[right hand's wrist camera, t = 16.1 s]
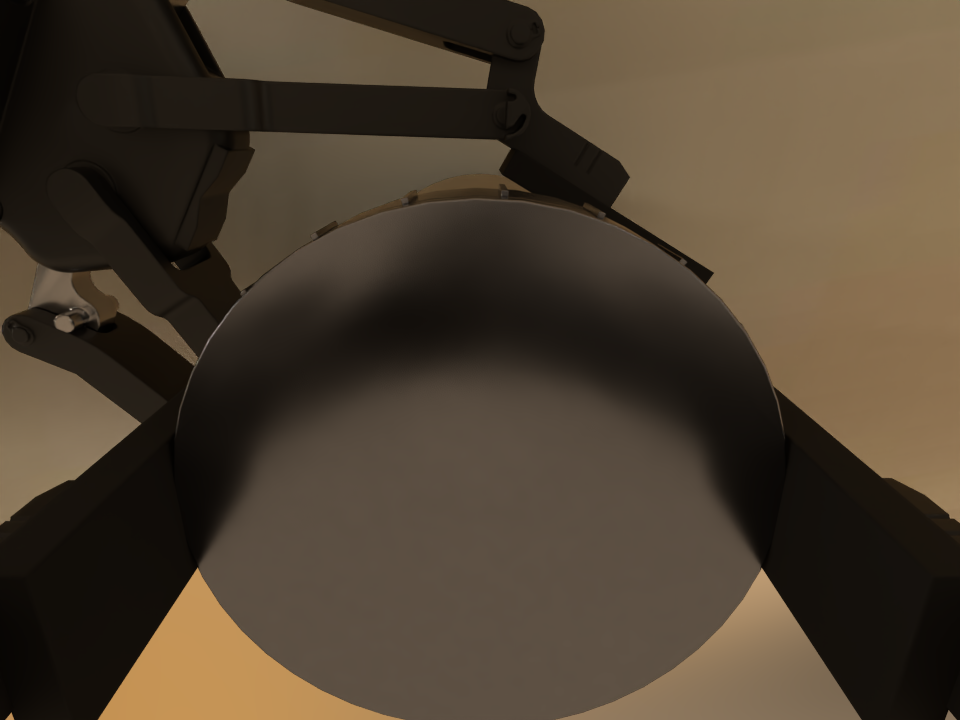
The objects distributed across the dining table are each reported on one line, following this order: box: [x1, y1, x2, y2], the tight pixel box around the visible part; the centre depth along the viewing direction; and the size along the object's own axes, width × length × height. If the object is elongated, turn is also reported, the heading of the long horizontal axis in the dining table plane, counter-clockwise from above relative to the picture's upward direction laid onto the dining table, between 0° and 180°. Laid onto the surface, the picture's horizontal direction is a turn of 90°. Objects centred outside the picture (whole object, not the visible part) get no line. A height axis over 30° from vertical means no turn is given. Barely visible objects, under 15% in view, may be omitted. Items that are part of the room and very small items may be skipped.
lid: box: [173, 184, 786, 720], centre depth 11 cm, size 11×11×2 cm
